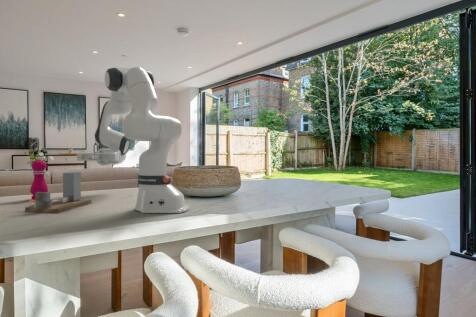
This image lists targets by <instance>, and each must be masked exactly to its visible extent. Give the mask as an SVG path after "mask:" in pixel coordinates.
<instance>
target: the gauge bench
mask: <svg viewBox="0 0 476 317" xmlns="http://www.w3.org/2000/svg"><path fill="white" fill-rule="evenodd" d="M50 200H51V192H49V191H48V192H36V202H35V204H33V205H29V206H26V207H24V212H27V213H28V212H29V213H30V212H31V213H50V214H51V213H52V214H59V213H63V212H66V211H67V212H68V211H71V210H75V209H76V208H77V209H78V208H81V207H84V206H88V205H91V204H93V203H92V201H93V200H92V199H80V200H76V201H68V202H65V203H58V199H54V200H52V206H50Z"/></svg>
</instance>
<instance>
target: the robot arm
mask: <svg viewBox="0 0 476 317" xmlns="http://www.w3.org/2000/svg"><path fill="white" fill-rule="evenodd" d="M104 83H105V86H106V89H108V90H109V91H110V99H109V100H107V101H106V102H105V103H104V105H103V107H102V110H101V113H100V117H99V122H98V126H97V128H96V131H95V133H94V139H95V142H96V143H97V144H98V145H102V146H105V147H101V148H99V149H98V150H97V151H96V152H92V153H91V152H90V153H89V152H87V153H85V152H84V153H83V152H78V153H77V154H76V160H77V161H78V162H80V161H81V162H82V161H83V162H84V161H85V162H87V161H88V162H91V161H92V162H93V161H94V162H95V161H96V163H97V164H99V165H101V166H110V165H114V166H115V165H119V164H121V163H123V162H124V161H125V160H126V157H127V153H128V151H129V149H130V147H131V146H130V145H131V142H130V140H133V141H138V142H150V146H149V147H148V148H147V149H146V150H145V151H143V152H142V153H141V154H140V156H139V157H138V175H137V197H136V202H135V206H134V210H135V211H137V212H140V213H142V214H146V213H147V214H180V213H185V212H187V211H189V210H191V207H190V204H186V202H185V196H184V193H182V192H181V191H180V190H179V189H178V188H177V187H175V186H173V184H172V183H171V182H172V178H173V177H172V176H170V175H168V174H167V167H168V166H167V163H168V155H169V151H170V149H171V147H172V146H173V144H174V143H176V141H177V140H178V139H179V138H180V136H181V135H182V132H183V128H182V123H181V121H180V120H179V119H177V118H175V117H172V116H168V115H159V114H153V113H152V112H154V111H155V110H156V108H157V107H158V104H159V99H158V96H157V93H156V91H155V87H154V86H155V78H154V75H153V73H152V72H151V71H150V70H148V69H145V68H142V67H141V66H134V67H111V68H108V69H106V71H105V74H104ZM128 113H129V114H128ZM125 114H126V115H125ZM112 115H118V116H119V115H125V117H124V118H123V120H122V122H121V130H122V131H121V132H120V131H118V130H115V129H112V128H111V127H110V123H111V120H112ZM106 147H108V148H106Z"/></svg>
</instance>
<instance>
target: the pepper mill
mask: <svg viewBox="0 0 476 317" xmlns="http://www.w3.org/2000/svg"><path fill="white" fill-rule="evenodd" d="M31 168H32V174H33V180H32V181H33V182H32V183H31V186H30V189H29V190H30V191H29V192H30V194H32V195H31V198H30V200H36V192H49V187H48V185H47V182H46V179H45V174H46V169H47V163H46V161H44V160H42V157H40V156H37V158H36V160H35V161H33V162H32V163H31Z"/></svg>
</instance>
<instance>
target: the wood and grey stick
mask: <svg viewBox="0 0 476 317" xmlns="http://www.w3.org/2000/svg"><path fill="white" fill-rule="evenodd" d="M52 201H53V200H52V199H50V206H52ZM28 203H36V200H31V199H29V200H28Z"/></svg>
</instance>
